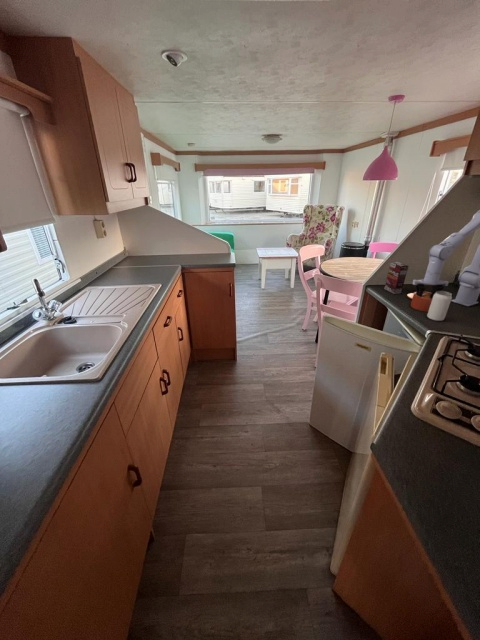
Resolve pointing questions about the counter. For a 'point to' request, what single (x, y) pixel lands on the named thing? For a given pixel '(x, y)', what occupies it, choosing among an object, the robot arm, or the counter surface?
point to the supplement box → (396, 277)
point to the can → (439, 305)
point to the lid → (411, 295)
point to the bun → (426, 296)
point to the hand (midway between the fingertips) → (425, 299)
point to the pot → (421, 302)
